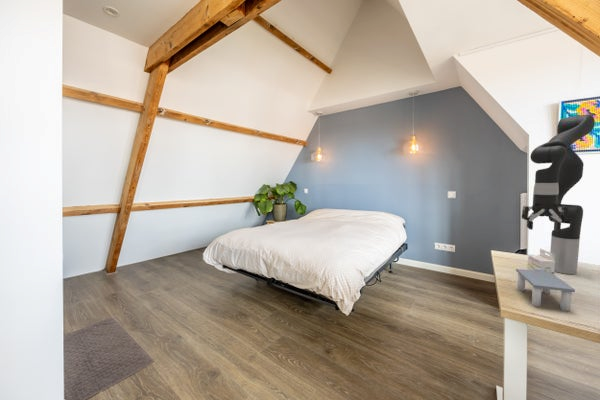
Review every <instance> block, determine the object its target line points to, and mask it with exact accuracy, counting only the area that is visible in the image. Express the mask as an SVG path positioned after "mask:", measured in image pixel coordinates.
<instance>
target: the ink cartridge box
mask: <svg viewBox="0 0 600 400" xmlns="http://www.w3.org/2000/svg"><path fill="white" fill-rule="evenodd" d="M554 268H555V255H554V254H552V253H550V251H548V250H544V249H542V248H540V249H539V254H528V256H527V269H526V270H535V271H545V272H551V273H552V274H554V275H555V271H554Z"/></svg>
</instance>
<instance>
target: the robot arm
mask: <svg viewBox="0 0 600 400" xmlns="http://www.w3.org/2000/svg"><path fill="white" fill-rule="evenodd" d="M595 121H596V120H595V117H594V116H593V115H592V114H579V115H574V116H568V117H563V118H561V119H559V121H558V123H557V129H556V135H554V136H553V137H552V138H551V139H549V141H547V142H545V143H542V144H540V145H538V146H536V147H535V148H534V149H533V150H532V151H531V153H530V160H531V161H532V163H535V164H551V165H549V166H548V167H547V168H545V167H544V168H541V169H537V170H536V171H535V178H534V186H533V194H532V195H533V197H532V206H527V205H523V207H522V211H521V212H522V213H521V219H523V220H525V221H526V227H527V228H528V229H529V230H533V228H534V220H535V219H537V218H538V217H548V220H549V221H550V222H551V223H553V230H552V231H551V234H550V235H551V237H550V238H551V239H550V250H549V252H550V253H552V254H554V255H555V268H554V272H557V273H560V274H567V275H576V274H577V273H578V262H579V252H580V237H581V232H582V230H581V229H582V223H583V222H582V221H583V218H584V208H583V206H582V205H579V204H564V203H562V201H563V199H564V197H565V195H566V194H567V193H568V192H569V191H570V190H571V189H572V188H574V186H576V185H577V184H578V183H579V182H580V181H581V179H582V178H583V173H584V166H585V165H584V161H583V159H582V158H581V157H580V156H579V155H578V154H577V152H575V151H574V150H573V148H572V145H573V144H574V143H576V142H577V141H579V140H580V139H582V138H584V137H585V136H587V135H589V134H590V133H591V132H592V131H594V128H595V125H596V124H595V123H596V122H595ZM531 210H532V212H531V213H530V215H529V212H530V211H531ZM562 224H569V226H568V227H563V228H561V227H562V226H561V225H562Z"/></svg>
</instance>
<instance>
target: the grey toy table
mask: <svg viewBox="0 0 600 400" xmlns="http://www.w3.org/2000/svg"><path fill="white" fill-rule="evenodd" d="M515 272H517V283H516V284H517V287H516V289H517V291H520V292H521V291H523V292H525V291H526V282H527V283H529V284H530V285H531V286H532V291H531V292H532V293H531V294H532V295H531V305H532V306H533V307H536V308H541V306H542V305H541V304H542V303H541V302H542V293H543V294H546V295H550V294H551V291H552V290H553V291H558V292H559V291H560V304H559V306H560V307H559V308H560V309H561V310H562V311H566V312H571V303H572V302H571V301H572V293H576V288H574V287H572V286H571V285H569V284H568V283H566V282H565V281H563V279H561V278H559V277H558V276H556V275H555V273H554V274H552V273H551V272H545V271H535V270H527V269H524V268H515Z"/></svg>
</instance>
